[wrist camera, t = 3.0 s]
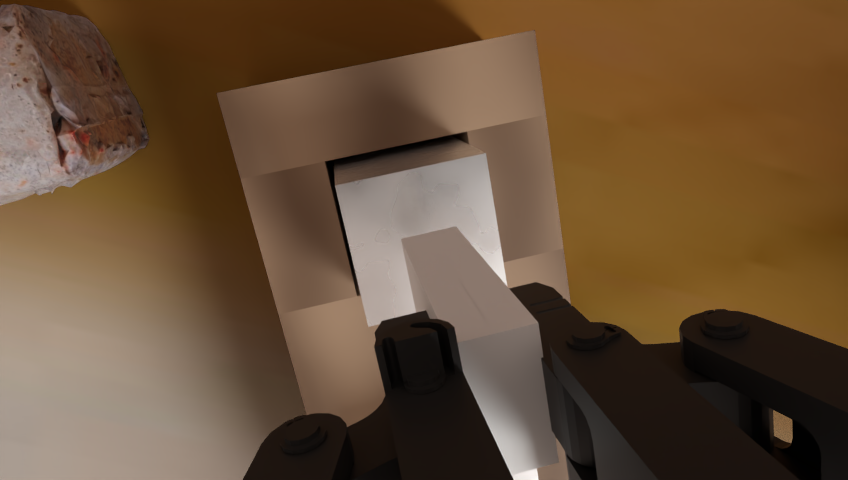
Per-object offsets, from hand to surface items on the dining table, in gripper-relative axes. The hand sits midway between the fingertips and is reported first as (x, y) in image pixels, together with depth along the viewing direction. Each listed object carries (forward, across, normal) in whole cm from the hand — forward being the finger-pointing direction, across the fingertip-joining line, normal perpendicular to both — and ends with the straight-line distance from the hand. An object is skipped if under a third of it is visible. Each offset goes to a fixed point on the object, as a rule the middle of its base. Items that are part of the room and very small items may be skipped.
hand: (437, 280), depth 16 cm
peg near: (+12, 0, 0) cm, 12 cm away
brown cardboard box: (+16, 0, +6) cm, 17 cm away
